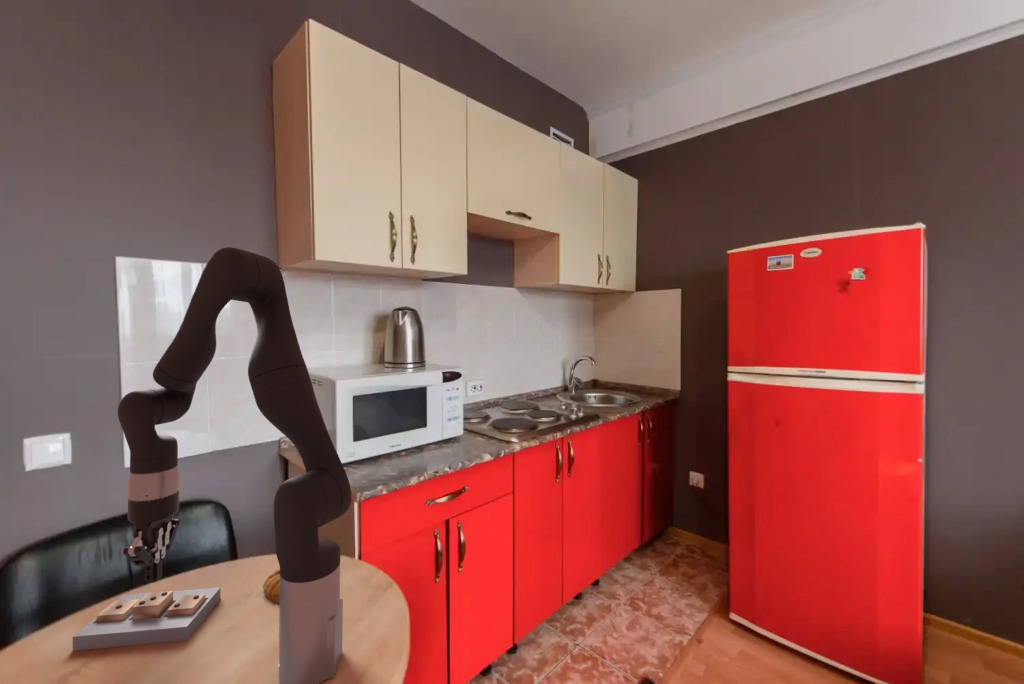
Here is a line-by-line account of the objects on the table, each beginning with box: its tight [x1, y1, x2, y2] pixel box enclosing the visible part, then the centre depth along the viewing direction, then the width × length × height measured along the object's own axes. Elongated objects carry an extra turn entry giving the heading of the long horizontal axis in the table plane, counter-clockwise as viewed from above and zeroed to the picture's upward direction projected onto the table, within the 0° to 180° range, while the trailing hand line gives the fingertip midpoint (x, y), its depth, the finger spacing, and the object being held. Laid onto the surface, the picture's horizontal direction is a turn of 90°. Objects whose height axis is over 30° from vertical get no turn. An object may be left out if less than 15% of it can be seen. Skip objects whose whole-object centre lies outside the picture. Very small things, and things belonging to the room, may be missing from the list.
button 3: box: [132, 590, 174, 620], centre depth 81 cm, size 4×4×3 cm
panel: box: [72, 587, 221, 651], centre depth 82 cm, size 18×12×2 cm, turn 100°
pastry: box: [262, 569, 280, 604], centre depth 91 cm, size 9×7×4 cm
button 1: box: [96, 599, 140, 623], centre depth 80 cm, size 4×4×3 cm
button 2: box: [167, 594, 205, 617], centre depth 82 cm, size 4×4×3 cm
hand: (153, 580), depth 82 cm, fingers closed
